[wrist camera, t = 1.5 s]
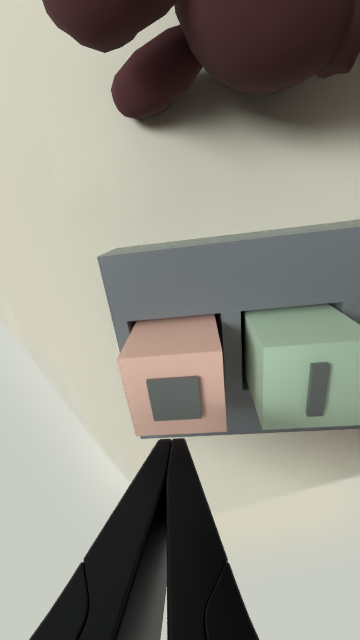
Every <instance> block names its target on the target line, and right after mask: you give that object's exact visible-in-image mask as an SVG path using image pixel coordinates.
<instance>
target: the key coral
mask: <svg viewBox="0 0 360 640" xmlns="http://www.w3.org/2000/svg"><path fill="white" fill-rule="evenodd" d="M117 362H118V366H119V370H120V374H121V378H122V382H123V386H124V390H125V394H126V398H127V402H128V406H129V410H130V414H131V418H132V422H133V426H134V430H135V434H136V436H150V435H170V434H191V433H211V432H227V425H226V407H225V390H224V373H223V356H222V348H221V343H220V339H219V334H218V329H217V325H216V320H215V316H214V314H205V315H194V316H183V317H172V318H161V319H149V320H138V321H137V322H136V324H135V325H134V327H133V329H132V331H131V333H130V335H129V337H128V339H127V341H126V343H125V345H124V346H123V348H122V350H121V352H120V354H119V356H118V358H117Z"/></svg>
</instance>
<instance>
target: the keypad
mask: <svg viewBox="0 0 360 640" xmlns="http://www.w3.org/2000/svg"><path fill="white" fill-rule="evenodd" d="M97 258H98V263H99V267H100V271H101V275H102V279H103V283H104V288H105V292H106V296H107V300H108V304H109V308H110V312H111V317H112V321H113V325H114V329H115V333H116V337H117V342H118V346H119V350H120V352H121V350H122V348H123V346H124V345H125V343H126V341H127V339H128V337H129V335H130V333H131V331H132V329H133V327H134V325H135V324H136V322H137V321H138V320H149V319H161V318H172V317H183V316H194V315H205V314H216V313H217V320H218V334H219V339H220V343H221V348H222V356H223V373H224V390H225V407H226V425H227V432H211V433H191V434H170V435H150V436H140V437H141V439H148V438H169V437H190V436H211V435H232V434H253V433H274V432H295V431H316V430H337V429H358V428H360V425H355V426H335V427H314V428H294V429H273V430H262V427H261V424H260V421H259V418H258V414H257V411H256V408H255V405H254V402H253V399H252V396H251V393H250V390H249V387H248V384H247V381H246V378H245V360H242V350H241V311H249V310H260V309H271V308H282V307H293V306H304V305H315V304H326V303H328V304H329V305H331V306H332V307H334V308H335V309H337V310H338V311H340V312H341V313H343V314H344V315H346V316H347V317H349V318H350V319H352V320H353V321H355V322H356V323H358V324H359V325H360V220H354V221H345V222H337V223H328V224H320V225H311V226H303V227H294V228H286V229H277V230H269V231H260V232H252V233H243V234H235V235H226V236H218V237H209V238H201V239H192V240H184V241H175V242H167V243H158V244H150V245H142V246H133V247H125V248H116V249H114V250H112V251H109V252H107V253H105V254H103V255H100V256H98V257H97Z"/></svg>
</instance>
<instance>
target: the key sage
mask: <svg viewBox="0 0 360 640" xmlns="http://www.w3.org/2000/svg"><path fill="white" fill-rule="evenodd" d="M244 342H245V378H246V381H247V384H248V387H249V390H250V393H251V396H252V399H253V402H254V405H255V408H256V411H257V414H258V418H259V421H260V424H261V427H262V430H273V429H294V428H314V427H335V426H355V425H360V325H359V324H358V323H356V322H355V321H353V320H352V319H350V318H349V317H347V316H346V315H344V314H343V313H341V312H340V311H338V310H337V309H335V308H334V307H332V306H331V305H329V304H328V303H326V304H315V305H304V306H293V307H282V308H271V309H260V310H249V311H244Z"/></svg>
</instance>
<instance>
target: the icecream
mask: <svg viewBox="0 0 360 640" xmlns="http://www.w3.org/2000/svg"><path fill="white" fill-rule="evenodd" d="M42 1H43V4H44V6H45V9H46V12H47V14H48V15H49V17H50V18H51V19H52V21H53V22H54V23H55V24H56V26H57V27H58V28H59V29H61V30H63V31H64V32H66V33H67V34H69V35H70V36H71V37H73V38H74V39H75V40H76V41H77V42H78V43H80V44H81V45H83V46H86V47H89V48H92V49H95V50H98V51H101V52H104V53H106V52H109V51H112V50H115V49H118V48H121V47H122V46H124V45H125V44H127V43H128V42H130V41H131V40H133V39H134V37H135V36H136V34H137V33H138V32H140V31H141V30H143V29H145V28H146V27H148V26H149V25H151V24H152V23H154V22H155V21H157V20H158V19H160V18H161V17H163V16H164V15H166V14H167V12H168V11H169V10H170V9H171V7H173V5H174V6H175V13H176V15H177V18H178V20H179V23H180V25H178V26H175V27H172V28H169V29H167V30H165V31H164V32H162V33H161V34H159V35H158V36H156V37H155V38H153V39H152V40H151V41H149V42H148V43H146V44H145V45H143V46H142V47H140V48H139V49H137V50H136V51H135V52H134V53H133V54H132V55H131V57H130V58H129V59H128V60H127V62H126V63H125V64H124V65H123V66H122V68H121V69H120V70H119V71H118V73H117V74H116V75H115V77H114V81H113V84H112V88H111V92H112V97H113V100H114V103H115V105H116V107H117V108H118V110H119V111H120V112H121V113H122V114H123V115H124V116H126V117H130V118H135V119H142V118H144V117H147V116H150V115H153V114H156V113H158V112H161V111H163V110H164V109H165V108H167V107H168V106H169V105H170V104H171V103H172V102H173V101H174V100H175V99H176V98H177V97H178V96H179V95H181V94H182V93H183V92H184V91H185V90H186V89H187V88H188V87H189V85H190V84H191V83H192V81H193V80H194V78H195V77H196V76H197V74H198V73H199V71H200V70H201V69H202V67H204V69H205V70H206V71H207V72H208V74H209V75H210V76H211V78H212V79H213V80H215V81H217V82H219V83H221V84H223V85H225V86H227V87H229V88H231V89H234V90H236V91H238V92H240V93H254V94H271V93H274V92H277V91H280V90H283V89H286V88H289V87H291V86H294V85H297V84H300V83H302V82H304V81H305V80H307V79H308V78H310V77H311V76H312V75H313V74H316V75H317V76H318V77H321V78H327V77H329V76H332V75H334V74H340V73H348V72H349V71H350V69H351V68H352V67H353V65H354V63H355V61H356V58H357V56H358V54H359V52H360V0H42Z"/></svg>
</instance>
